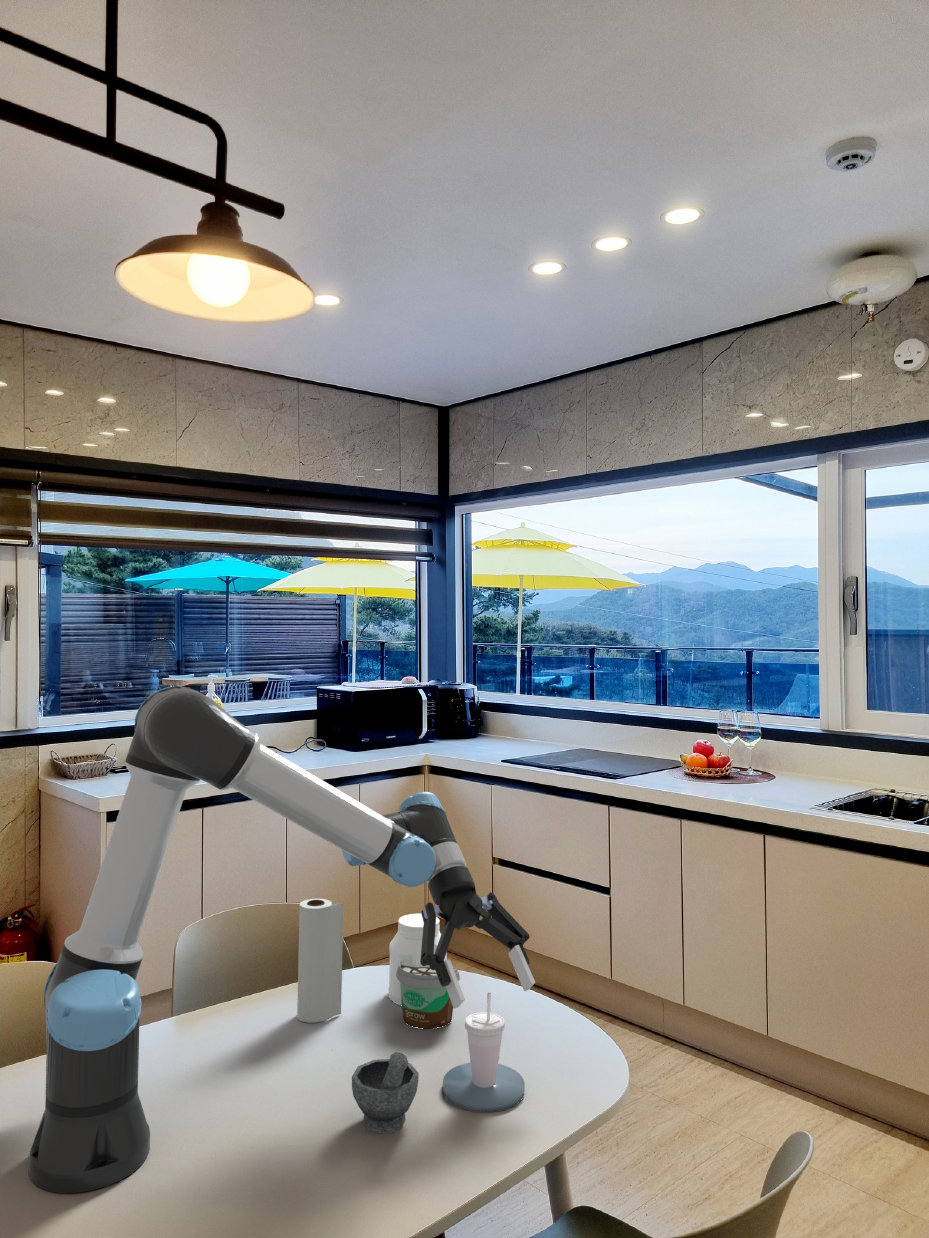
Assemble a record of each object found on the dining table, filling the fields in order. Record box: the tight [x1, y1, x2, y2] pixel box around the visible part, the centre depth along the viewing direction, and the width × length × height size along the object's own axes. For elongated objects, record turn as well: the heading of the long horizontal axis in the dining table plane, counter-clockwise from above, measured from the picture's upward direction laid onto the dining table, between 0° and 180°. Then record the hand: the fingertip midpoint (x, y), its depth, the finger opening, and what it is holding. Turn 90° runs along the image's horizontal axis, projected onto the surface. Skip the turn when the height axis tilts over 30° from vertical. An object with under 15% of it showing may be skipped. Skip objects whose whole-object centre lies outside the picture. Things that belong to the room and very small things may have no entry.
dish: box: [442, 1062, 526, 1113], centre depth 139 cm, size 13×13×1 cm
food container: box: [396, 961, 461, 1030], centre depth 161 cm, size 12×6×10 cm, turn 73°
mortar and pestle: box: [351, 1051, 419, 1134], centre depth 129 cm, size 11×9×12 cm
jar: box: [387, 913, 448, 1006], centre depth 174 cm, size 12×10×15 cm
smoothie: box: [464, 992, 506, 1088], centre depth 139 cm, size 6×6×14 cm
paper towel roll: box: [296, 898, 344, 1024], centre depth 163 cm, size 7×6×21 cm
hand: (495, 995), depth 137 cm, fingers open, 13 cm apart
